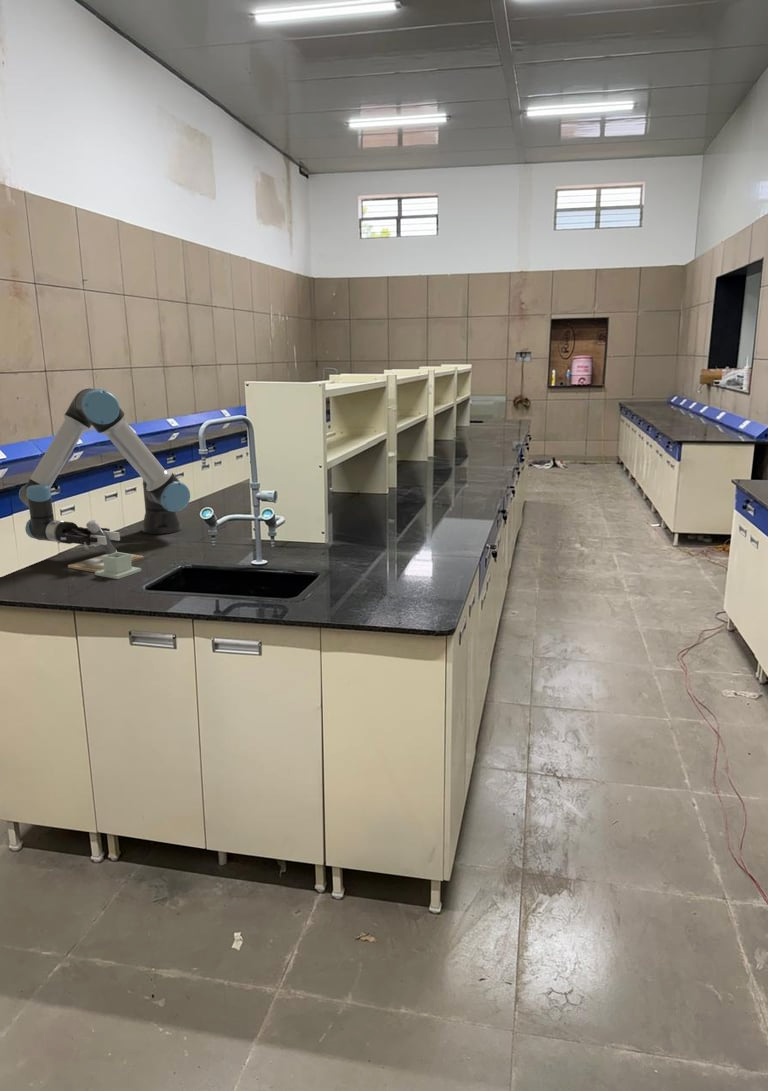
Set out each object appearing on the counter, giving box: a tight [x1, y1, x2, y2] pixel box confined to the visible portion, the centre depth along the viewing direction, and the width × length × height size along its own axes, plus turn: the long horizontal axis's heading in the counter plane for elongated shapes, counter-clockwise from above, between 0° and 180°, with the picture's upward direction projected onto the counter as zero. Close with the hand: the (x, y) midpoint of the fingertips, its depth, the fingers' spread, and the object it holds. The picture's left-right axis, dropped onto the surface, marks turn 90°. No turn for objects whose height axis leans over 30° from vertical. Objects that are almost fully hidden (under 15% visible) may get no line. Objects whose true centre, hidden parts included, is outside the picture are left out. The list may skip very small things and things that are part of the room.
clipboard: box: [67, 552, 144, 573], centre depth 250 cm, size 20×14×2 cm
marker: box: [85, 519, 118, 555], centre depth 248 cm, size 3×3×15 cm
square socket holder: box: [94, 551, 142, 580], centre depth 238 cm, size 10×10×6 cm
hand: (112, 538), depth 245 cm, fingers closed on marker, 5 cm apart
